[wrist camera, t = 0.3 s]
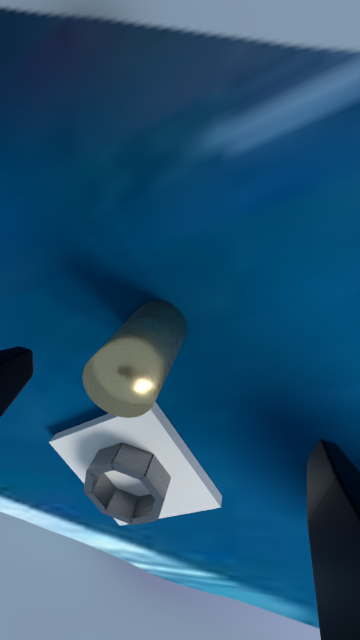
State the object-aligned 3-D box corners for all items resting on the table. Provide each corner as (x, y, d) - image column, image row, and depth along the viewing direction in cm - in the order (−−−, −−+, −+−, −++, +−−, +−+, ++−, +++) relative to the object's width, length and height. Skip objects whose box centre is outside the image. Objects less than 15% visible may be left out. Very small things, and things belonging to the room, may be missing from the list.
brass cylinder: (196, 338, 24) (170, 404, 17) (152, 358, 26) (111, 426, 18) (167, 291, 23) (126, 340, 16) (123, 315, 25) (68, 369, 17)
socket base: (222, 496, 30) (220, 507, 29) (124, 515, 36) (119, 525, 34) (152, 396, 27) (147, 405, 26) (55, 433, 32) (48, 442, 31)
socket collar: (183, 493, 30) (177, 517, 28) (124, 505, 33) (115, 528, 31) (140, 436, 28) (130, 457, 26) (82, 455, 31) (69, 475, 29)
